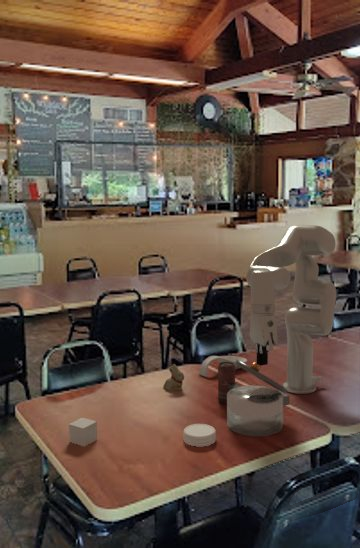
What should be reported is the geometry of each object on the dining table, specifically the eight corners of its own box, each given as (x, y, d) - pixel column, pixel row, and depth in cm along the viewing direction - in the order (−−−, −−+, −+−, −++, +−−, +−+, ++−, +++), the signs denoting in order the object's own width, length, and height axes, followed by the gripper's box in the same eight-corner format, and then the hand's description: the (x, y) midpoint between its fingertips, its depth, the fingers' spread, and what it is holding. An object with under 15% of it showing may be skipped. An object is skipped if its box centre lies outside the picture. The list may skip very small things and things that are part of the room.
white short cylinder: (205, 450, 166) (205, 439, 165) (177, 443, 171) (177, 432, 171) (221, 437, 174) (221, 427, 174) (194, 431, 179) (193, 420, 179)
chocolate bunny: (174, 393, 212) (174, 367, 211) (161, 388, 218) (161, 363, 217) (185, 389, 216) (185, 364, 215) (172, 384, 222) (172, 360, 220)
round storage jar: (259, 401, 202) (259, 375, 201) (299, 429, 179) (300, 399, 177) (208, 410, 195) (208, 383, 193) (243, 440, 171) (243, 409, 170)
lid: (265, 381, 194) (270, 372, 194) (295, 400, 176) (301, 390, 177) (225, 358, 186) (230, 348, 187) (252, 374, 169) (258, 364, 170)
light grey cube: (84, 447, 169) (83, 428, 168) (69, 442, 172) (68, 424, 172) (97, 439, 174) (96, 421, 173) (83, 435, 177) (82, 417, 177)
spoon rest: (233, 361, 250) (233, 346, 249) (252, 367, 241) (252, 351, 240) (193, 373, 236) (193, 357, 235) (212, 380, 227) (212, 363, 226)
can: (234, 404, 200) (234, 366, 198) (217, 403, 201) (216, 366, 199) (236, 398, 206) (236, 361, 204) (219, 397, 207) (219, 360, 205)
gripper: (285, 312, 173) (284, 369, 175) (260, 303, 187) (260, 357, 189) (264, 314, 170) (263, 372, 173) (240, 305, 184) (240, 359, 186)
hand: (262, 364), depth 181 cm, fingers closed
